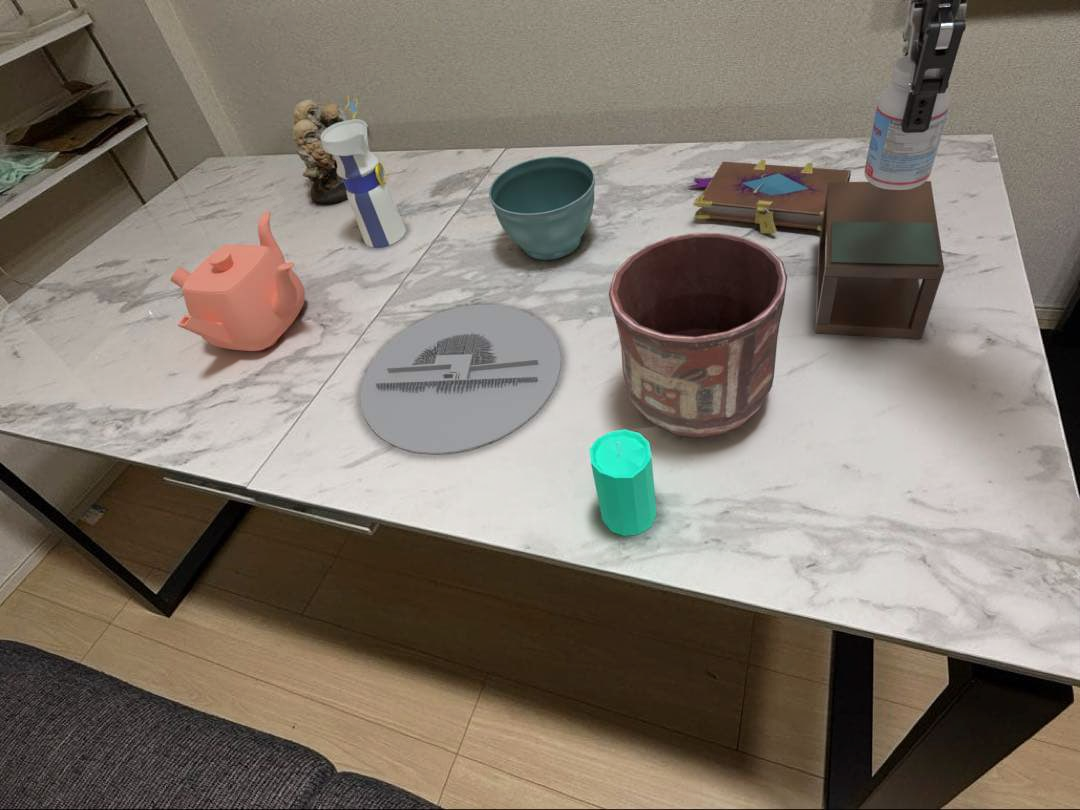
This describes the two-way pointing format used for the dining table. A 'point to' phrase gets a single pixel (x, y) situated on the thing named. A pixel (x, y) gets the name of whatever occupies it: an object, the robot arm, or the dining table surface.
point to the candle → (624, 481)
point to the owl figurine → (318, 150)
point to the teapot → (242, 294)
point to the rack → (877, 261)
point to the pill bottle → (903, 136)
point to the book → (767, 194)
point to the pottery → (699, 330)
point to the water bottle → (363, 180)
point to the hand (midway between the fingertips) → (911, 113)
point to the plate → (460, 379)
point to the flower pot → (545, 204)
